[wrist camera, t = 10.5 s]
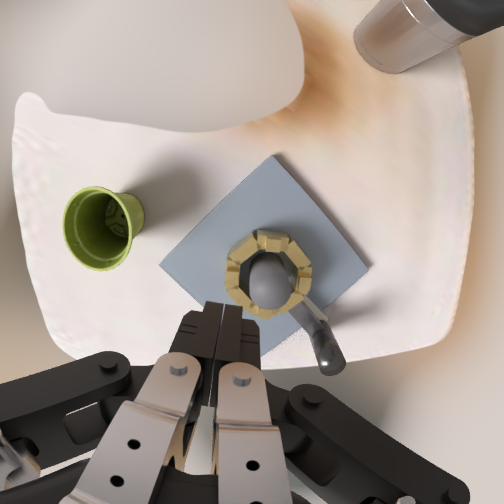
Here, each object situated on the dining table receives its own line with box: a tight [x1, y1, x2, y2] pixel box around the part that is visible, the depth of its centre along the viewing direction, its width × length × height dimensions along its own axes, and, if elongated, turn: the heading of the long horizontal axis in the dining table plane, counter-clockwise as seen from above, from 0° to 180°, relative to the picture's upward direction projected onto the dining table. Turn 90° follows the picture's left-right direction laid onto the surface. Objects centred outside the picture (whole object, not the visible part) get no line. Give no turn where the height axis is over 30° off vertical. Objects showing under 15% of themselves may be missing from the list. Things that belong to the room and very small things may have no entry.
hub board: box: [159, 155, 369, 357], centre depth 34 cm, size 20×22×8 cm
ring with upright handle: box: [225, 229, 346, 376], centre depth 33 cm, size 19×10×8 cm, turn 39°
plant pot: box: [62, 187, 144, 271], centre depth 31 cm, size 9×9×9 cm
